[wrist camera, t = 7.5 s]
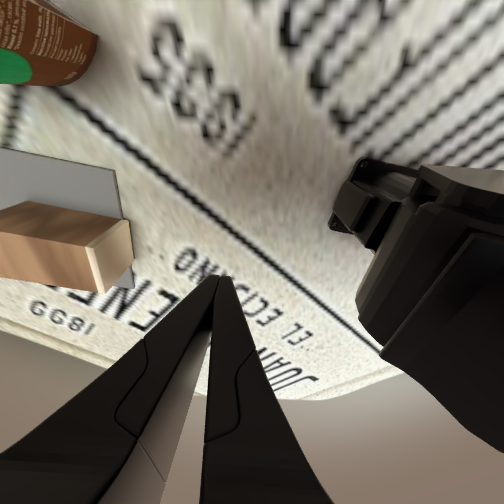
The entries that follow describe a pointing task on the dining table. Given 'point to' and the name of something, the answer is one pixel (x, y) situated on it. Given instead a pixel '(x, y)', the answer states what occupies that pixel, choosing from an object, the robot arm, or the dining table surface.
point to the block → (63, 247)
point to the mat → (60, 188)
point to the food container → (42, 44)
